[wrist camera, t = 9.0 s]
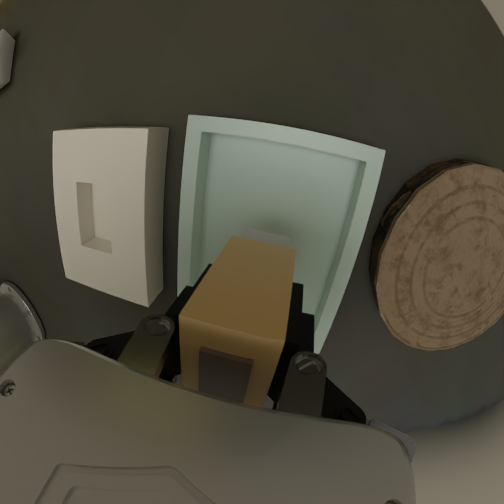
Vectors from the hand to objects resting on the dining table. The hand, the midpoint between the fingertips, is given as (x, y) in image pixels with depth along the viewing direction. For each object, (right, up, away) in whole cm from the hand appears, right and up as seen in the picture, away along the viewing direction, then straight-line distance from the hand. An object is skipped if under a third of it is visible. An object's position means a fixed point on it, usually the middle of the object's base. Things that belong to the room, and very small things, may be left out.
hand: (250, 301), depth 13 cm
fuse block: (-12, +6, +9) cm, 16 cm away
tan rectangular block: (+1, +1, +3) cm, 3 cm away
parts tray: (+1, +3, +8) cm, 8 cm away
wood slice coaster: (+17, +2, +6) cm, 18 cm away
